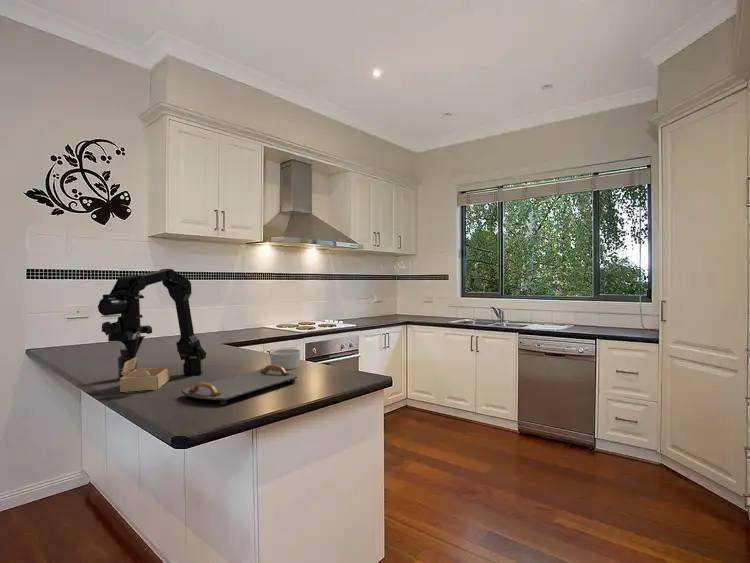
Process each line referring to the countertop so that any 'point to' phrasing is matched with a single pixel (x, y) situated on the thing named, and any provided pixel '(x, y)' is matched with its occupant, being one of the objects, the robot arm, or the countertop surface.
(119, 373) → the supplement bottle
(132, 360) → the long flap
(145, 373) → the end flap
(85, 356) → the countertop surface
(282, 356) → the ramekin
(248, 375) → the serving board
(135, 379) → the carton
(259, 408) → the countertop surface
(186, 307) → the robot arm
